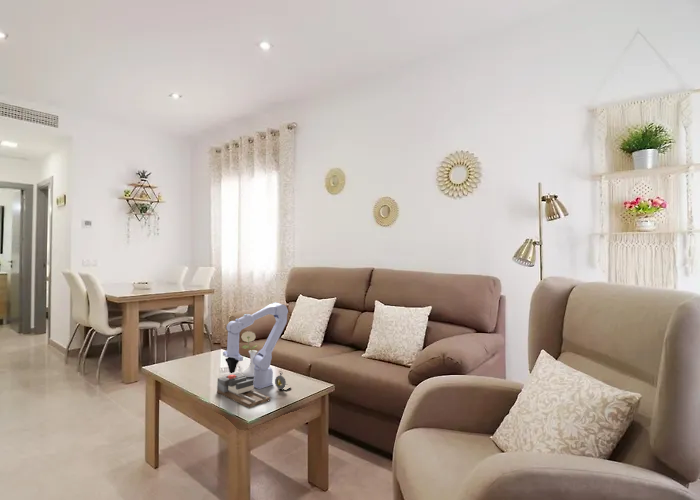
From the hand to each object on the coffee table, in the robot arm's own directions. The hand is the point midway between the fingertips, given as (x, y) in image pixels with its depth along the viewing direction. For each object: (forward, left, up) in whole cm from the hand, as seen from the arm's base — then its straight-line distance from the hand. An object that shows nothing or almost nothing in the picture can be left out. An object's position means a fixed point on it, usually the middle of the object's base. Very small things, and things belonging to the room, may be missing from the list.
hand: (232, 372), depth 188 cm
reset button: (0, 0, -6) cm, 6 cm away
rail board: (0, +10, -9) cm, 14 cm away
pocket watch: (-20, +16, -10) cm, 27 cm away
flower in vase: (-21, -13, -10) cm, 26 cm away
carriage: (0, +8, -6) cm, 10 cm away
